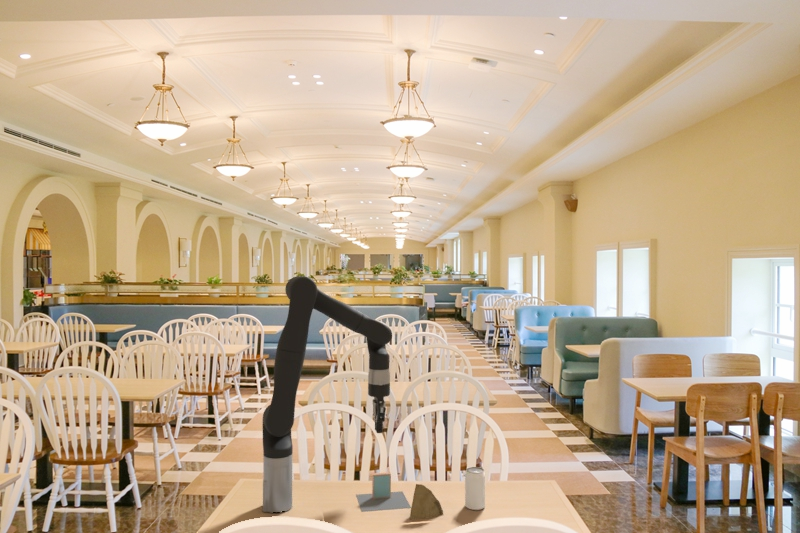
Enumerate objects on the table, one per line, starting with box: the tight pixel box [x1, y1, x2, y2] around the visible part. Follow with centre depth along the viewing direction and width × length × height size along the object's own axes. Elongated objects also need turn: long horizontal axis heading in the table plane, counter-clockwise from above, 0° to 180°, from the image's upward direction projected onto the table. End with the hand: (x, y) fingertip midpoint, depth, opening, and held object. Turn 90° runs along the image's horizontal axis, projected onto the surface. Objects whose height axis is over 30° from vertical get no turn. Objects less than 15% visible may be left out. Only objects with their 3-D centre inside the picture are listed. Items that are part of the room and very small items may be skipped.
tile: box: [371, 471, 392, 499], centre depth 197 cm, size 6×2×8 cm, turn 101°
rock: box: [409, 483, 444, 520], centre depth 183 cm, size 11×9×10 cm
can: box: [464, 466, 486, 511], centre depth 191 cm, size 6×6×12 cm
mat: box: [355, 491, 412, 513], centre depth 194 cm, size 16×14×1 cm
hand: (378, 431), depth 203 cm, fingers open, 2 cm apart
